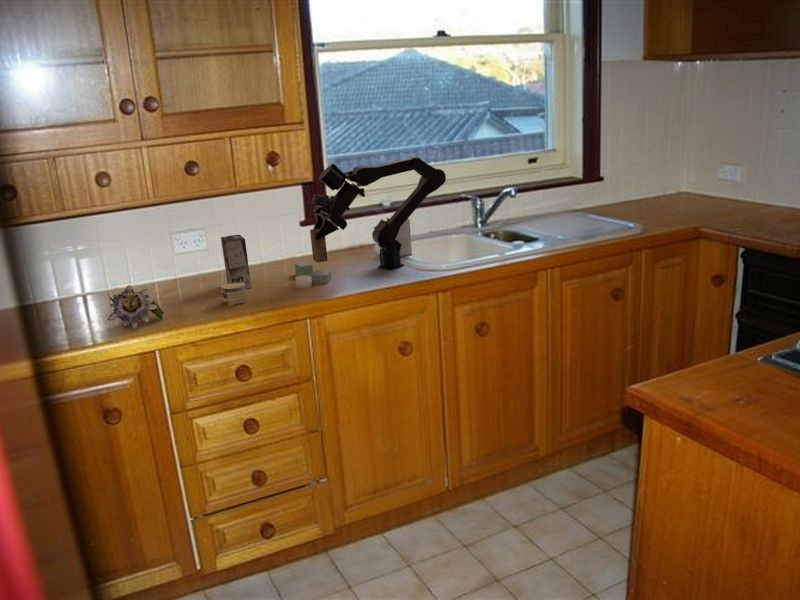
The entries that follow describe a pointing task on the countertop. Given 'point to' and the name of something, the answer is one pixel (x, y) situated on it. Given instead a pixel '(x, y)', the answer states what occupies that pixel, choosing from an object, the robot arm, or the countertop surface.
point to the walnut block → (318, 247)
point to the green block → (303, 268)
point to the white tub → (303, 281)
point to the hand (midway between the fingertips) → (313, 238)
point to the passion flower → (133, 307)
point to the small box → (404, 238)
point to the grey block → (321, 277)
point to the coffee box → (236, 260)
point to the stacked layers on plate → (234, 293)
